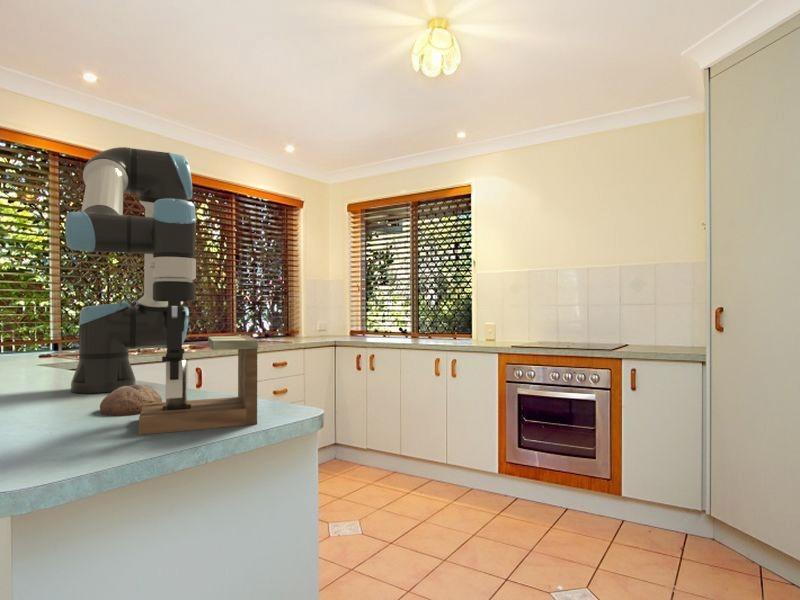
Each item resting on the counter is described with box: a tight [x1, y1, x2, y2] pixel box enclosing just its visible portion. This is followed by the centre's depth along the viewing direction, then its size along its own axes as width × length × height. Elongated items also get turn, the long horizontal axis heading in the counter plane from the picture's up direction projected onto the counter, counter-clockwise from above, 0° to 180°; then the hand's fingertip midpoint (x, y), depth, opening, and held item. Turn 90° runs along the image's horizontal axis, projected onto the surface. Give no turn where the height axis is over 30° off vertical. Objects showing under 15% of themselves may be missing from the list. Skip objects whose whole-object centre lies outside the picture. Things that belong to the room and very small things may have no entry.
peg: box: [165, 359, 188, 411], centre depth 97 cm, size 4×4×12 cm
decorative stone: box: [99, 384, 163, 416], centre depth 110 cm, size 12×12×6 cm
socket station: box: [138, 335, 259, 436], centre depth 99 cm, size 16×20×16 cm
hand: (173, 392), depth 97 cm, fingers open, 13 cm apart
